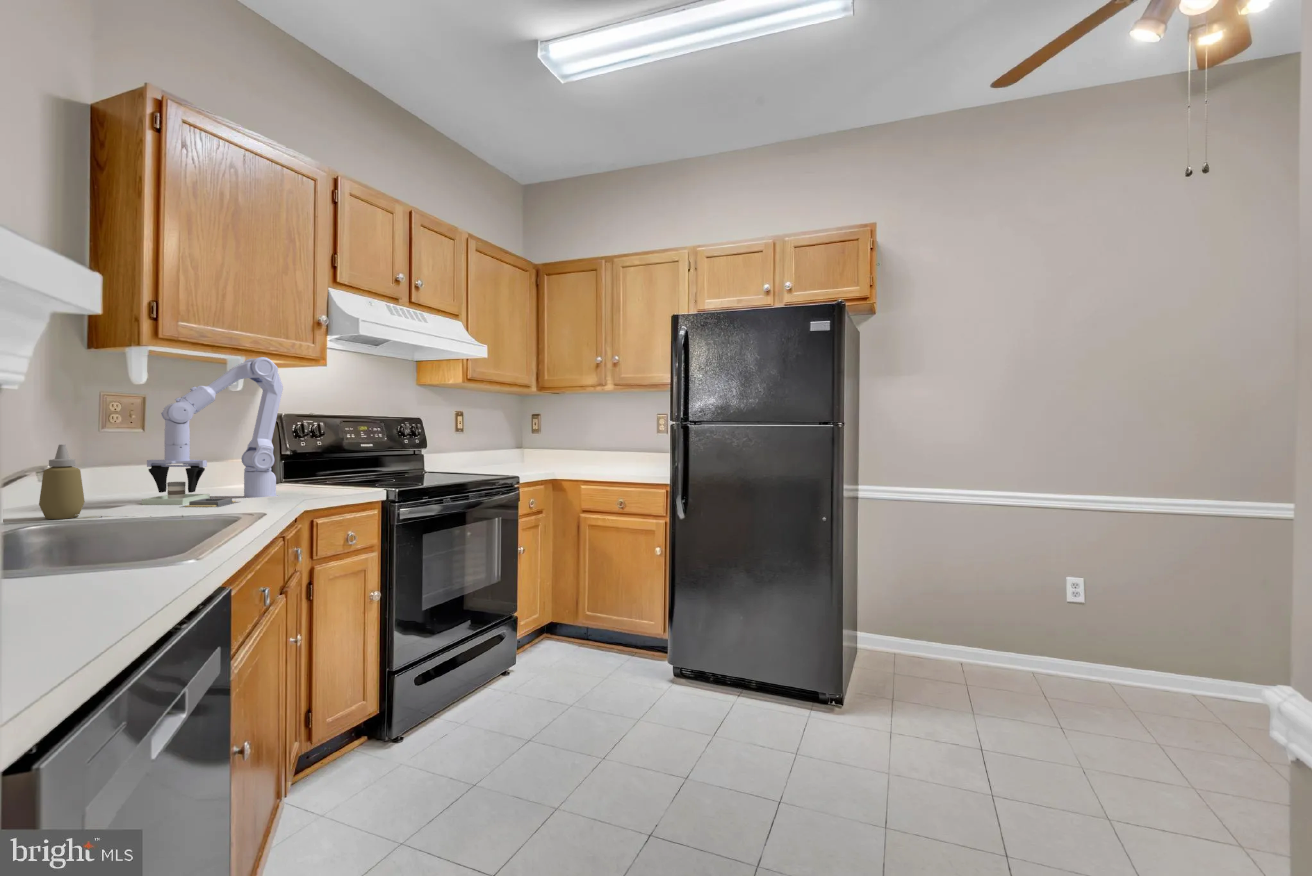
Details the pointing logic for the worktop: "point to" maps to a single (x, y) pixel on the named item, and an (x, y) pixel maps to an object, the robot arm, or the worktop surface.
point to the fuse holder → (211, 502)
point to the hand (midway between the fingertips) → (177, 492)
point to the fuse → (176, 490)
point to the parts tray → (165, 501)
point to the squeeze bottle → (61, 488)
